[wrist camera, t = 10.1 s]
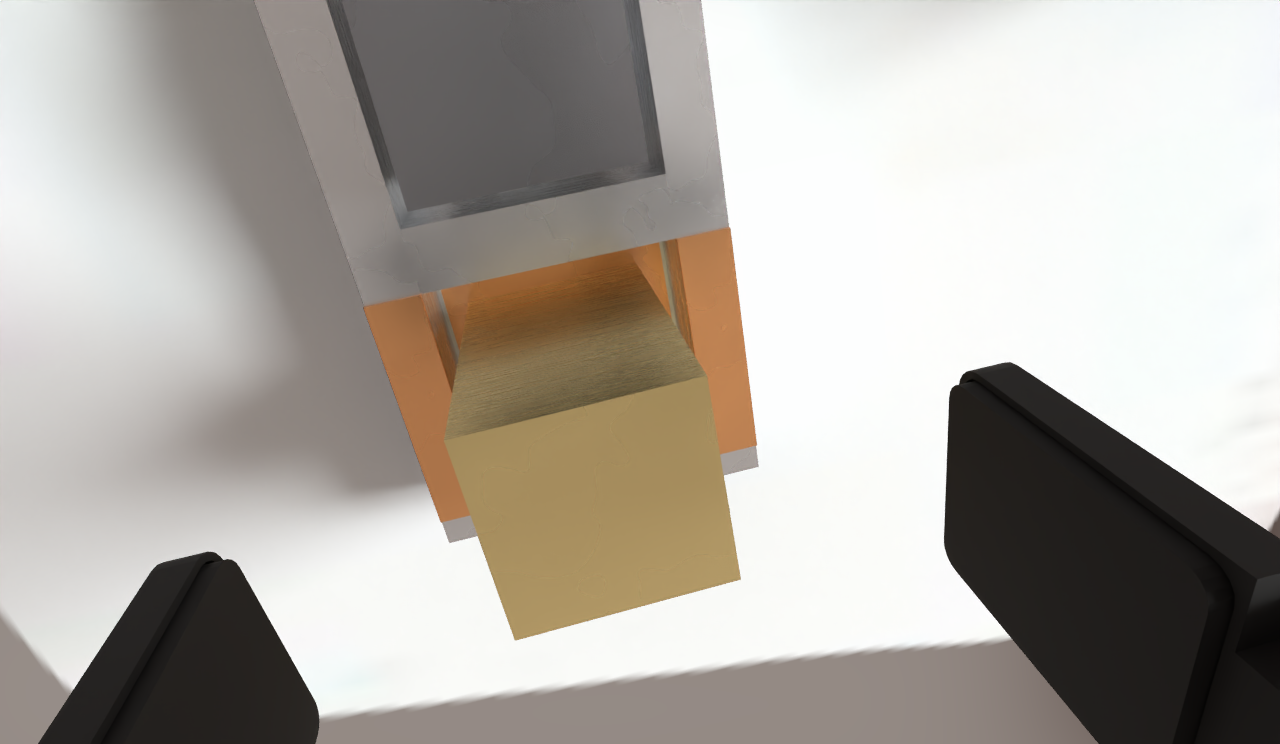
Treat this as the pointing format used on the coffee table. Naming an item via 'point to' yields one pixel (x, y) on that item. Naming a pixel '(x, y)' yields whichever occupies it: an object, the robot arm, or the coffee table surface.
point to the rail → (524, 225)
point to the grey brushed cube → (498, 92)
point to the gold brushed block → (587, 452)
